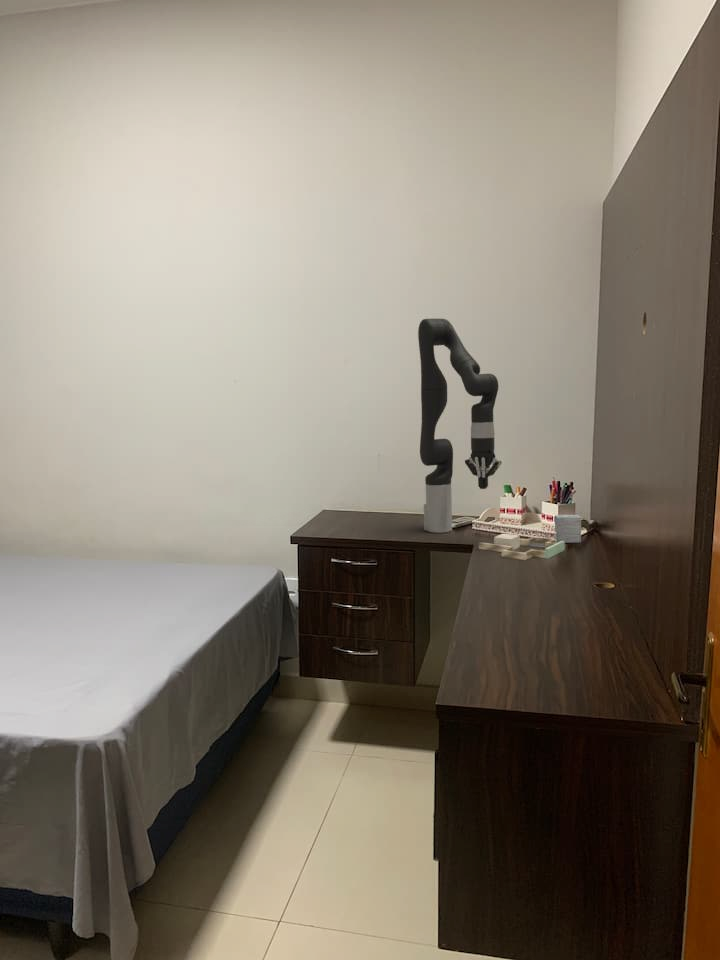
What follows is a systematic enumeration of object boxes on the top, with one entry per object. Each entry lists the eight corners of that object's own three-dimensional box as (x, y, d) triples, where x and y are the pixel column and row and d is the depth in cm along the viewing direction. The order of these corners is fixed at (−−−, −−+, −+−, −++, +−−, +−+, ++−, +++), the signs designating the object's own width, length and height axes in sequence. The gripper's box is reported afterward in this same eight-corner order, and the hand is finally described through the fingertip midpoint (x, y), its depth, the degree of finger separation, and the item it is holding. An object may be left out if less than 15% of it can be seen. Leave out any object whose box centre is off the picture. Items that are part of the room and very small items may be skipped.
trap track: (470, 552, 235) (470, 543, 235) (504, 538, 252) (504, 529, 251) (540, 562, 220) (540, 552, 220) (571, 547, 237) (571, 537, 236)
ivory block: (494, 549, 239) (494, 537, 238) (502, 545, 243) (502, 533, 243) (511, 551, 235) (511, 539, 234) (519, 547, 240) (519, 535, 239)
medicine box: (578, 539, 246) (578, 514, 245) (581, 543, 242) (581, 517, 240) (554, 540, 247) (554, 514, 246) (556, 543, 242) (556, 517, 241)
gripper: (458, 436, 240) (459, 488, 243) (494, 437, 232) (495, 491, 235) (470, 434, 246) (471, 485, 249) (506, 435, 238) (506, 488, 240)
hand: (483, 488), depth 242 cm, fingers closed
